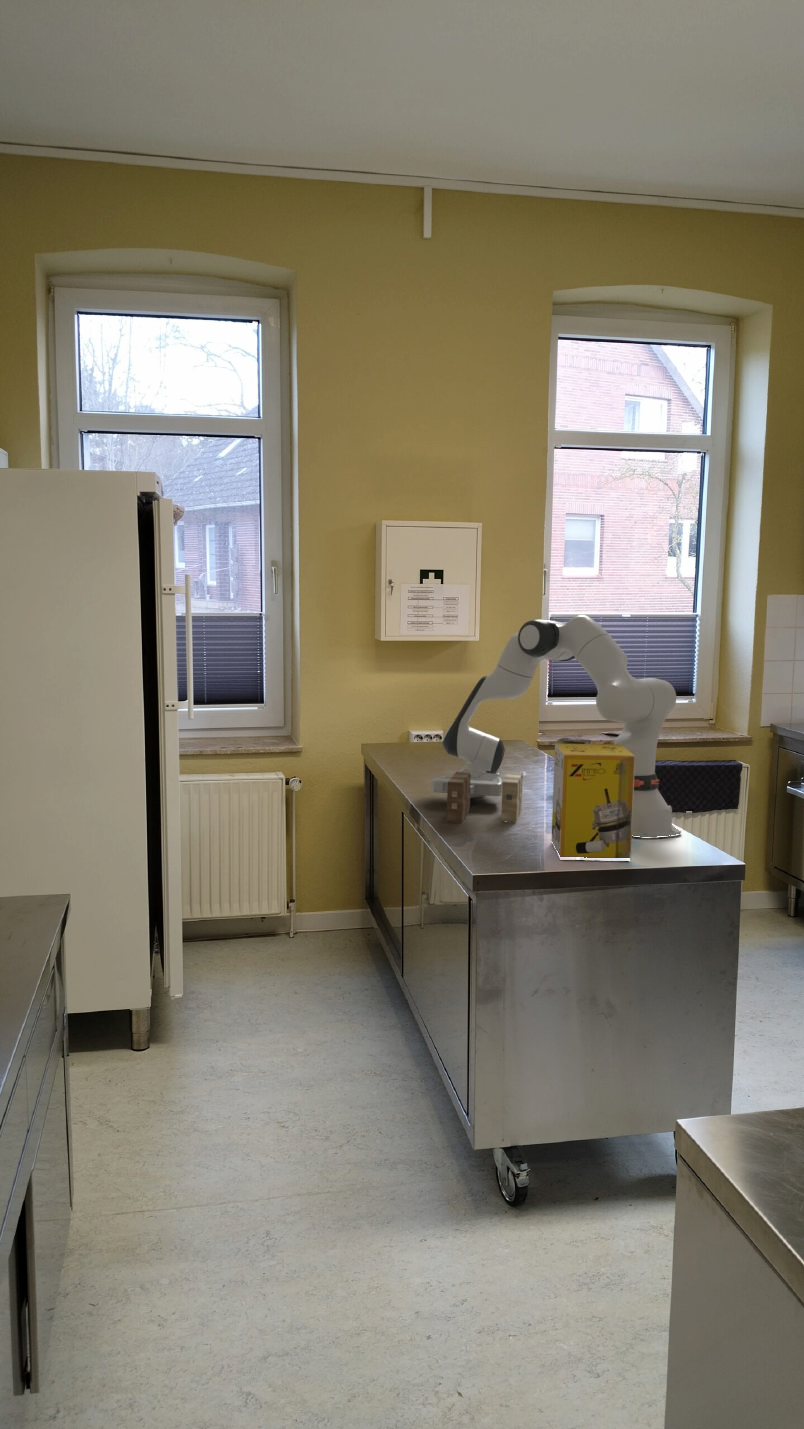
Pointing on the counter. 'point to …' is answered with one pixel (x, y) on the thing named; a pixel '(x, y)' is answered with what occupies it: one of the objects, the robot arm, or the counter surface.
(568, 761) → the packaging box
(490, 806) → the counter surface
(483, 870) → the counter surface
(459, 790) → the walnut tile two
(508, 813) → the maple tile one
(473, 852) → the counter surface
